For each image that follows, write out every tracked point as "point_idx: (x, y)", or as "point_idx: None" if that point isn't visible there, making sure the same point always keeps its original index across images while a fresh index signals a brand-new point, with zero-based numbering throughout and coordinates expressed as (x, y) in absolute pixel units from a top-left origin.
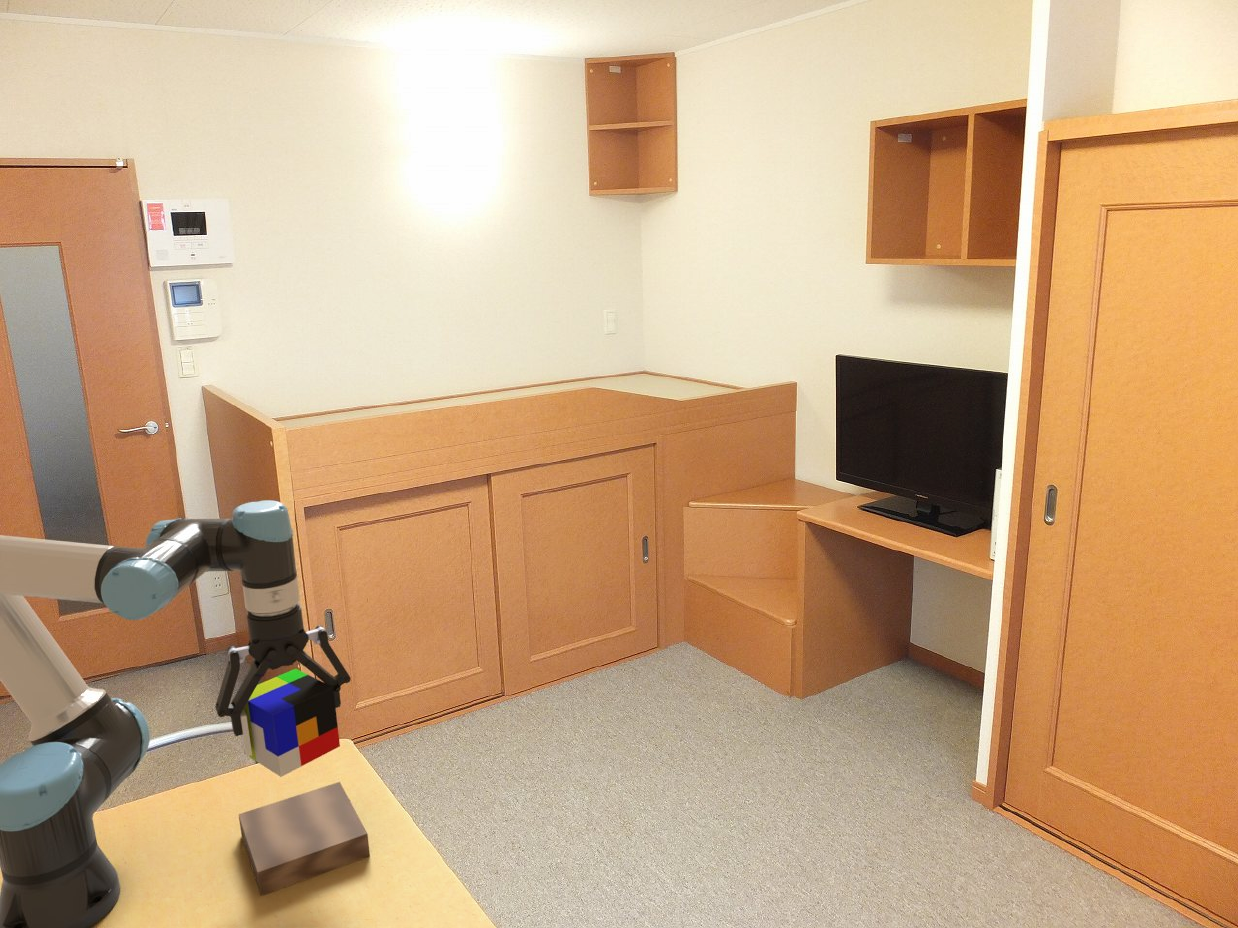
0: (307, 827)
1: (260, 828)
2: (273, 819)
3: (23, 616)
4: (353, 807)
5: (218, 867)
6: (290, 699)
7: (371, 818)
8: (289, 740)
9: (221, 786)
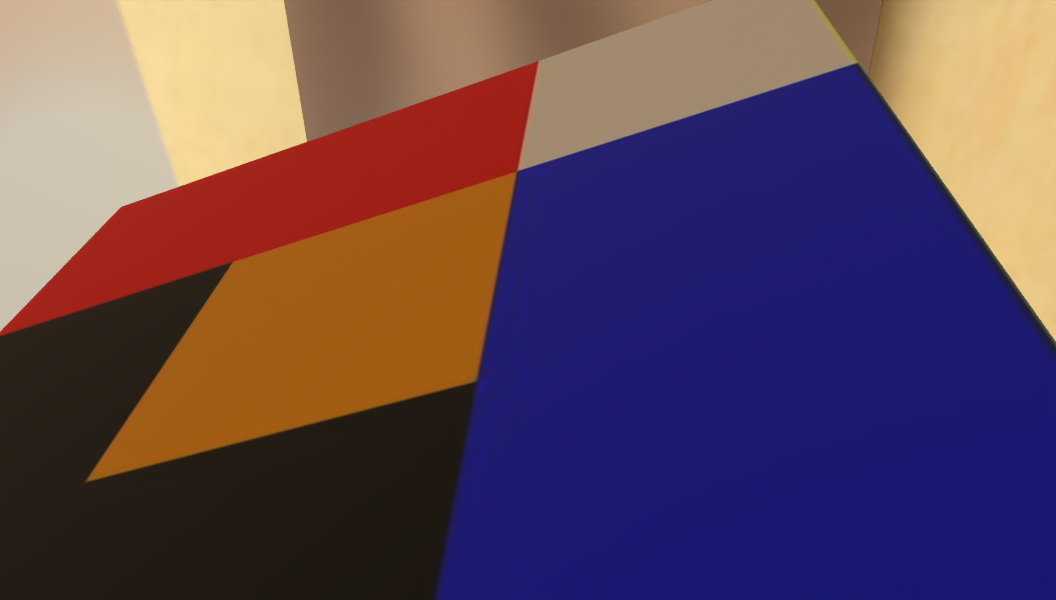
0: (556, 44)
1: None
2: None
3: None
4: (297, 81)
5: (959, 114)
6: None
7: (253, 78)
8: (649, 209)
9: None
